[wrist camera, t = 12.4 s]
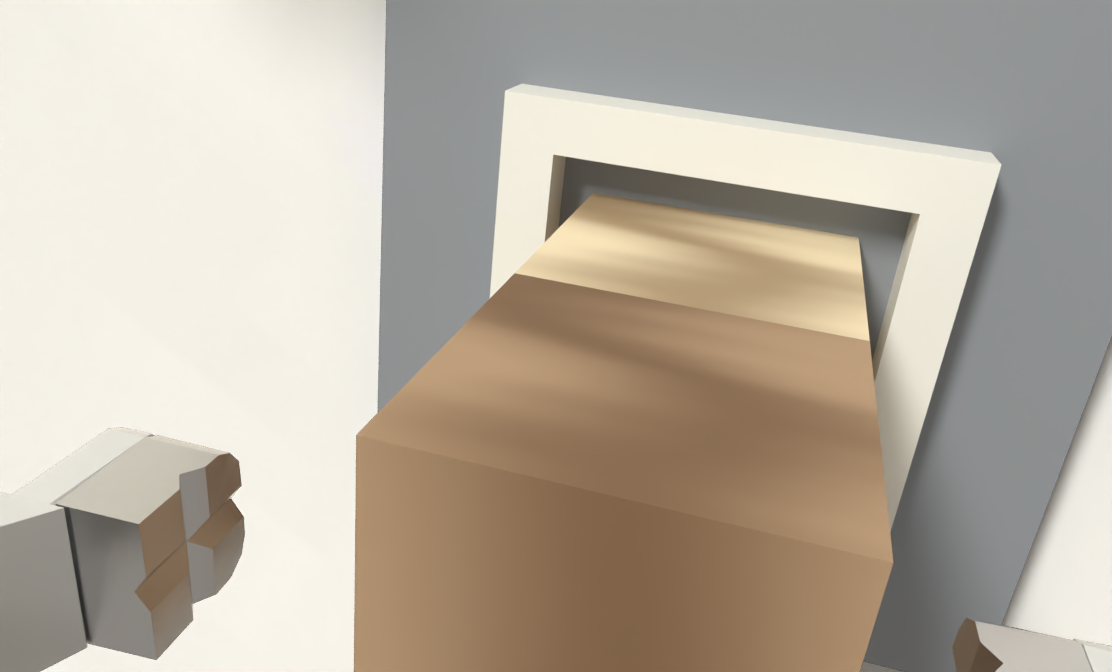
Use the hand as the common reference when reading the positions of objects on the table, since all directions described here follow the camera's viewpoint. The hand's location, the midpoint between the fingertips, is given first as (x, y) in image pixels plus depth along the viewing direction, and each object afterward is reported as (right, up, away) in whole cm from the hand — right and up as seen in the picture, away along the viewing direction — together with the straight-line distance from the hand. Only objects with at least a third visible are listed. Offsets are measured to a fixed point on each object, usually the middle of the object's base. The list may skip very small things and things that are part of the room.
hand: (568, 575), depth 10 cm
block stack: (+3, +3, +8) cm, 9 cm away
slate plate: (+3, +3, +9) cm, 10 cm away
